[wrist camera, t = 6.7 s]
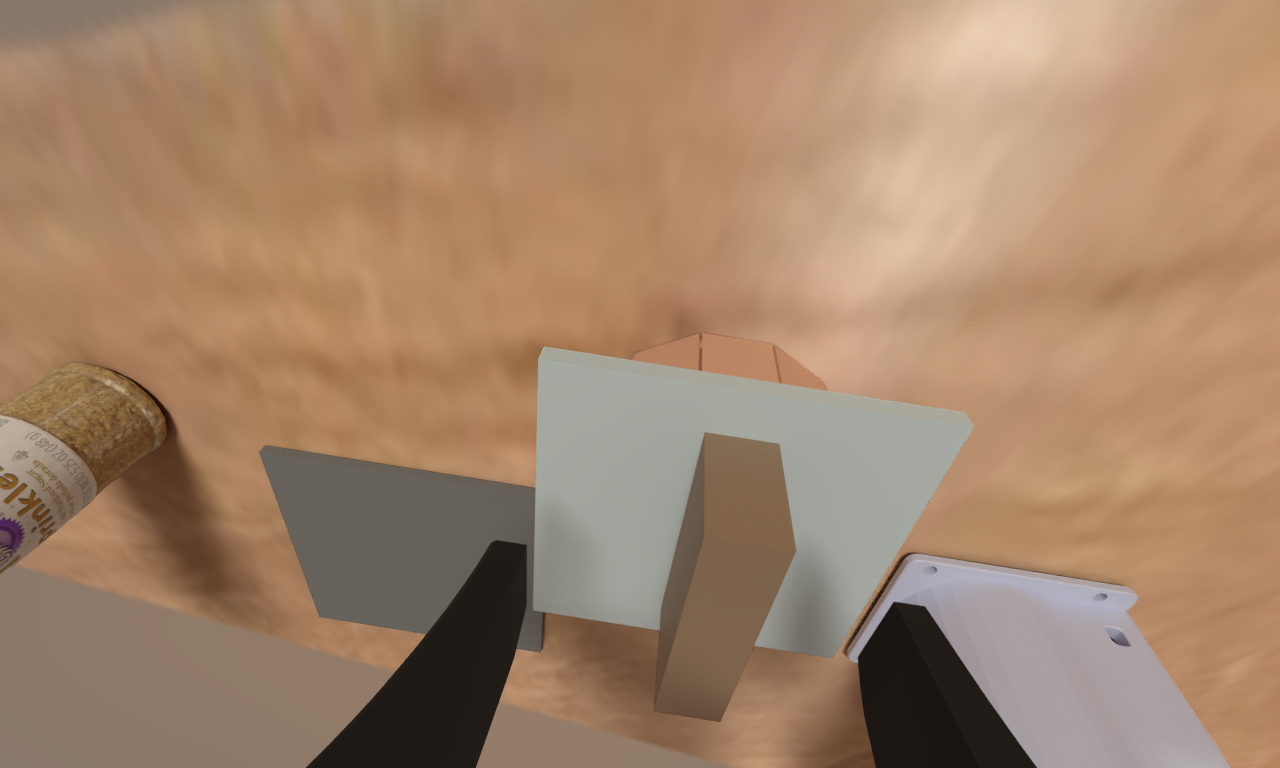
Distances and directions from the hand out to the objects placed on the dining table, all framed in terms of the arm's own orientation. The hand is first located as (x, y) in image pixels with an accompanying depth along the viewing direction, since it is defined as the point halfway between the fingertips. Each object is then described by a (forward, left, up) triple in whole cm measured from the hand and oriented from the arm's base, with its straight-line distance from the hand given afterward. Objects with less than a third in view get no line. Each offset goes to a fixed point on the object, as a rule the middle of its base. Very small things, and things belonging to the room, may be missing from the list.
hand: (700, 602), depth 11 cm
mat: (+11, +14, -10) cm, 20 cm away
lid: (-1, +4, -6) cm, 7 cm away
